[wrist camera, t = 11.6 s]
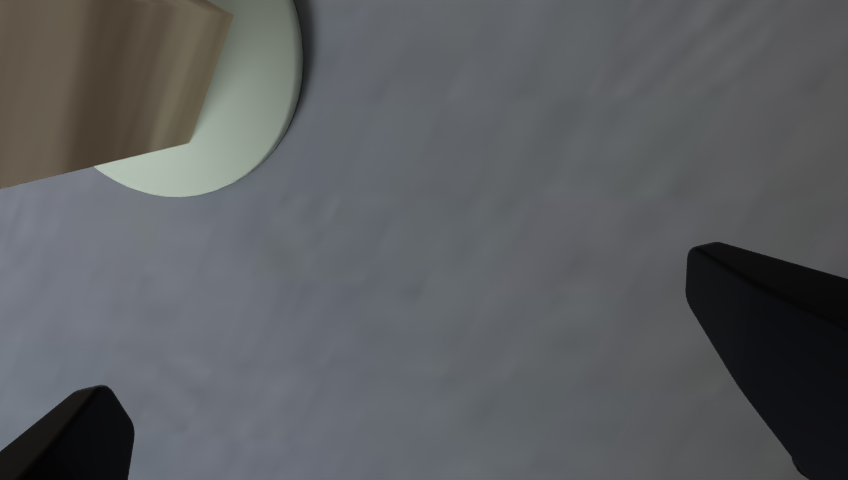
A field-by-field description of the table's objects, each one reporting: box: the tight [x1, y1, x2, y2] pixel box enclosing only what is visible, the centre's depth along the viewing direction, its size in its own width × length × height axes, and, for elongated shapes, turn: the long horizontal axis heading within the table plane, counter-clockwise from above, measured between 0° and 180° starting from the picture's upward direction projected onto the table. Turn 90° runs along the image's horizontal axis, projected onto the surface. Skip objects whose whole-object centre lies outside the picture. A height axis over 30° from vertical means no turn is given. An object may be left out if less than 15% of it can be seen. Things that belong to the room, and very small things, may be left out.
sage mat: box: [94, 0, 303, 197], centre depth 20 cm, size 11×11×1 cm
